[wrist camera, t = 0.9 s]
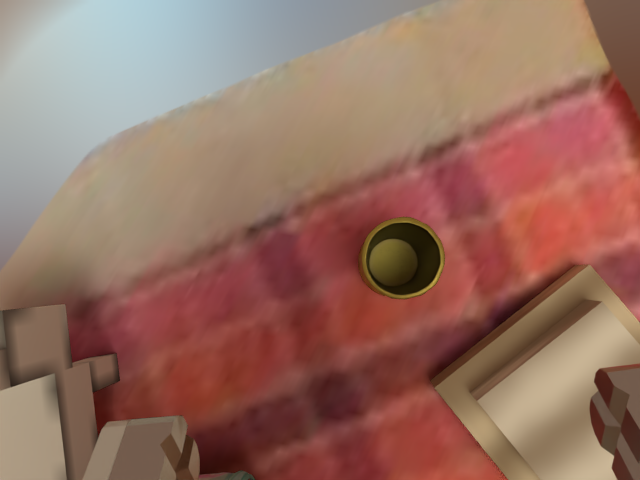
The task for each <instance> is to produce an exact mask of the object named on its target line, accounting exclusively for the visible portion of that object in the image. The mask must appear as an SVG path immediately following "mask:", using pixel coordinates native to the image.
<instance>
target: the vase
mask: <svg viewBox="0 0 640 480" xmlns="http://www.w3.org/2000/svg"><path fill="white" fill-rule="evenodd" d="M444 264H445V254H444V249H443V245H442V243H441V240H440V239H439V238H438V236H437V235H436V234H435V232H434V231H433V230H432V229H431V228H430V227H429V226H428V225H427V224H424V223H422V222H420V221H418V220H416V219H414V218H411V217H399V218H394V219H390V220H387V221H384V222H382V223H380V224H379V225H378V226H377V227H376V228H374V229H373V230H372V231H371V232H370V233H369V234H368V236H367V237H366V240H365V242H364V243H363V245H362V247H361V250H360V253H359V257H358V267H359V272H360V275H361V277H362V279H363V281H364V282H365V283H366V285H367V286H368V287H369V288H371V289H372V290H373V291H375V292H376V293H378V294H381V295H383V296H388V297H390V298H393V299H409V298H412V297H416V296H421V295H423V294H424V293H426V292H427V291H428V290H430V289H431V288H432V287H433V286H435V285H436V283H437V282H438V280H439V278H440V275H441V273H442V271H443V268H444Z"/></svg>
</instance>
